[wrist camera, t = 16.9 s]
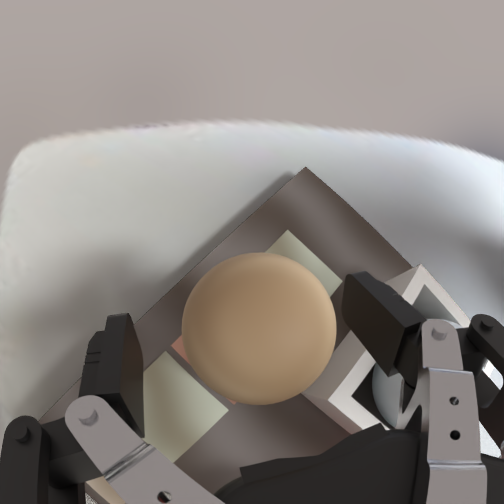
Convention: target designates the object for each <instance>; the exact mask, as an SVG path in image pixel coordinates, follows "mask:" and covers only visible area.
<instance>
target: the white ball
mask: <svg viewBox="0 0 504 504" xmlns="http://www.w3.org/2000/svg"><path fill="white" fill-rule="evenodd" d="M427 320H430V319H427ZM440 320H444V319H440ZM444 321H446V322H448V323H450V324H451V325H452V326H454V328H455V329H457V328H463V327H462V326H460V325H458V324H456V323H454V322H451V321H448V320H444ZM482 370H483V371H484V367H483V369H482ZM402 379H403V377H402V376H401V374H400V373H398V374H395V375H393V376H390V377H387V375H386V374H385V373H384V372H383V370H382V369H381V368H380V366H379V365H378V364H377V362H376V364H375V367H374V371H373V377H372V391H373V397H374V400H375V403H376V406H377V408H378V410H379V412H380V414H381V415H382V416H383V418H384V419H385V420H386V421H387V422H388V423H389V424H390V425H392V426H393V427H396V424H397V420H398V411H399V402H400V391H401V381H402Z"/></svg>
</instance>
